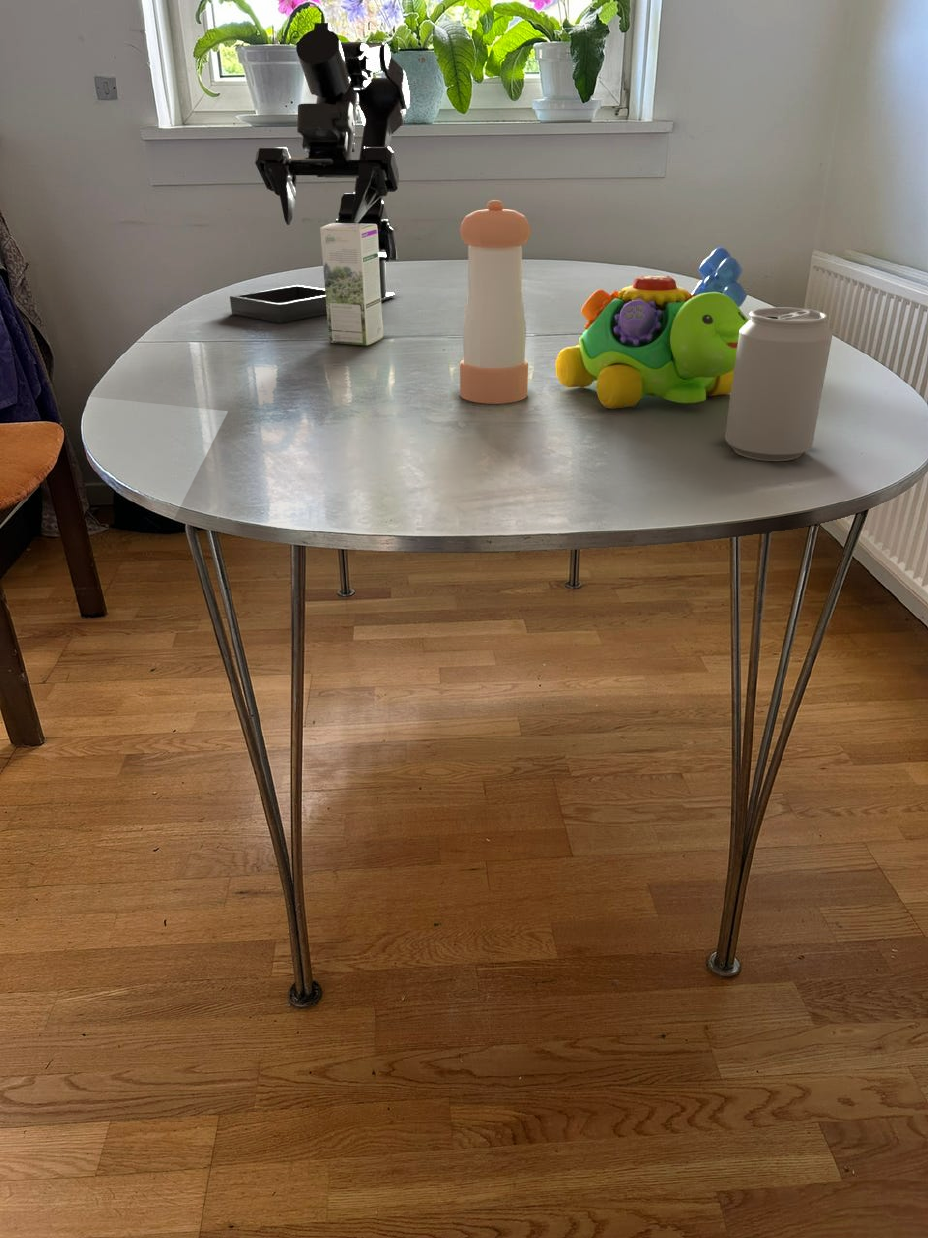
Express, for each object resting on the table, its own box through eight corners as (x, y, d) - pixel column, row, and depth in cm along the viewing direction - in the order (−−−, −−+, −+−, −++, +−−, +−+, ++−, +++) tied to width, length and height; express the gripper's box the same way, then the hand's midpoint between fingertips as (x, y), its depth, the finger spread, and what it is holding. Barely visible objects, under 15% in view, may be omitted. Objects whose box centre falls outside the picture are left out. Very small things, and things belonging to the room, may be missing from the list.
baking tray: (298, 301, 150) (297, 284, 148) (348, 309, 143) (347, 292, 142) (231, 313, 140) (229, 296, 139) (281, 323, 134) (279, 304, 133)
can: (712, 439, 85) (729, 304, 79) (790, 436, 85) (813, 302, 80) (740, 466, 78) (761, 321, 72) (825, 462, 79) (853, 319, 73)
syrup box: (384, 337, 125) (379, 222, 118) (366, 346, 120) (359, 226, 113) (346, 335, 126) (338, 221, 119) (327, 344, 121) (318, 225, 114)
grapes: (665, 340, 122) (674, 243, 116) (712, 337, 123) (724, 242, 117) (699, 359, 112) (711, 255, 106) (751, 357, 113) (765, 253, 107)
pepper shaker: (454, 402, 96) (452, 203, 87) (465, 385, 102) (464, 197, 93) (523, 405, 95) (528, 203, 86) (530, 387, 101) (536, 197, 92)
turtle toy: (654, 437, 85) (666, 306, 80) (538, 379, 104) (542, 270, 98) (797, 415, 91) (818, 292, 86) (663, 364, 110) (673, 260, 104)
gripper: (250, 77, 119) (232, 180, 116) (389, 76, 117) (376, 181, 114) (276, 141, 130) (260, 237, 127) (404, 140, 128) (392, 238, 124)
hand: (320, 222), depth 123 cm, fingers open, 9 cm apart
